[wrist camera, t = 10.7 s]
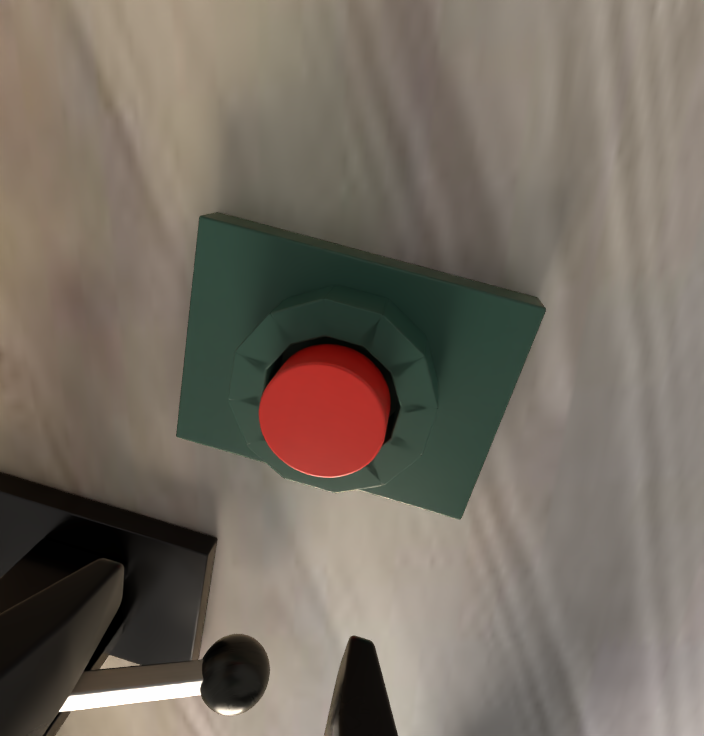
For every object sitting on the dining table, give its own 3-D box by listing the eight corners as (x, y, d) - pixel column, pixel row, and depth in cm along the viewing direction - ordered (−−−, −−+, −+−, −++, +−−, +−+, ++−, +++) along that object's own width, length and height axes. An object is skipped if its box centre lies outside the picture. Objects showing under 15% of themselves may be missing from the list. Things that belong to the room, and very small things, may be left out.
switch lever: (270, 616, 24) (279, 681, 22) (260, 659, 26) (267, 726, 23) (-39, 639, 20) (-77, 723, 17) (-33, 689, 21) (-67, 775, 19)
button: (404, 361, 16) (401, 383, 14) (374, 463, 18) (368, 493, 16) (285, 328, 16) (268, 346, 15) (265, 432, 18) (249, 458, 16)
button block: (538, 297, 18) (561, 326, 14) (459, 498, 21) (463, 557, 18) (216, 211, 18) (169, 220, 15) (191, 420, 22) (149, 464, 19)
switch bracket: (218, 537, 24) (109, 723, 16) (198, 660, 28) (100, 863, 20) (-12, 467, 25) (-229, 613, 17) (-3, 596, 28) (-177, 768, 20)
